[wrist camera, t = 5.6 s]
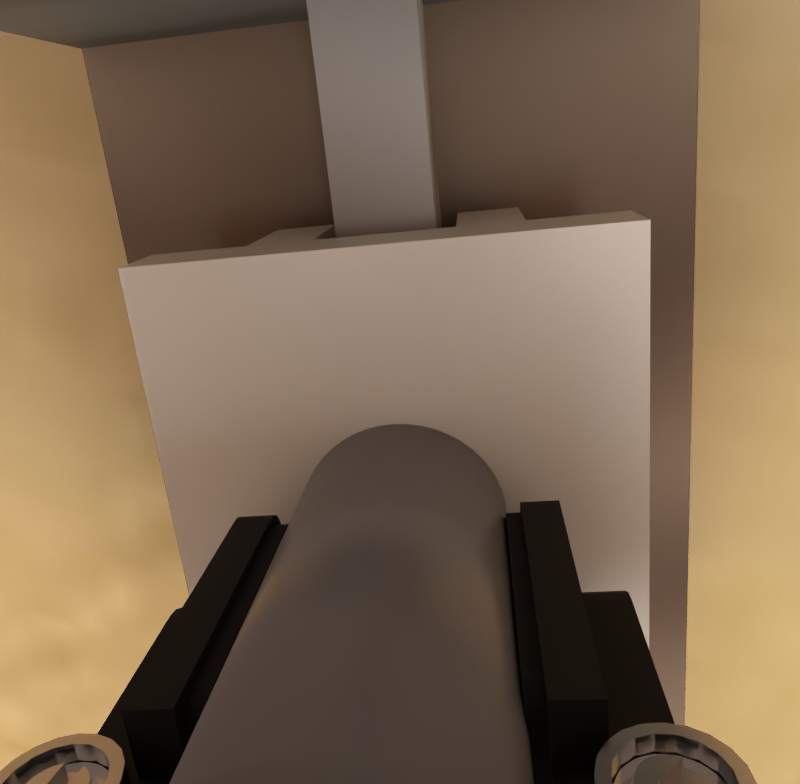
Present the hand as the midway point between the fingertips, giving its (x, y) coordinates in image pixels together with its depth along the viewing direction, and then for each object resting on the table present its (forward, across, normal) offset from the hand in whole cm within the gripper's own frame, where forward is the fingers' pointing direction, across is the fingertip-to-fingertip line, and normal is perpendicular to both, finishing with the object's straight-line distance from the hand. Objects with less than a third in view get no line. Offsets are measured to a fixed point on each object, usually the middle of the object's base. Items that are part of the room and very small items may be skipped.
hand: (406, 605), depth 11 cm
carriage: (+4, 0, -1) cm, 4 cm away
